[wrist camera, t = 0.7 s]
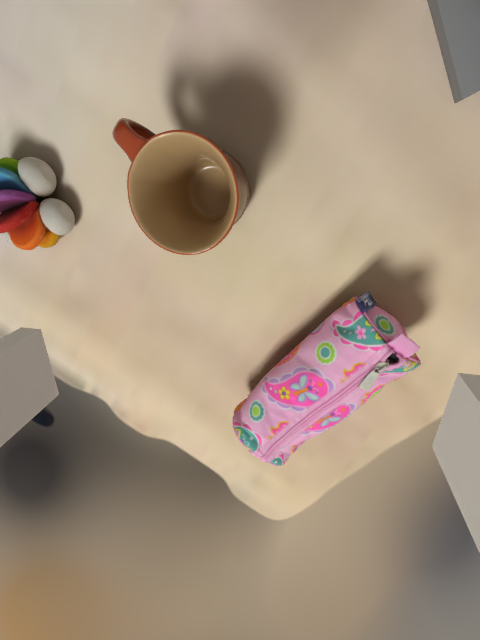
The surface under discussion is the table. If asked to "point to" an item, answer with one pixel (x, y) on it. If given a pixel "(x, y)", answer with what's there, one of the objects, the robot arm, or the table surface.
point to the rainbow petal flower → (31, 204)
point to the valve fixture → (459, 43)
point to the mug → (181, 187)
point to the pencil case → (324, 379)
